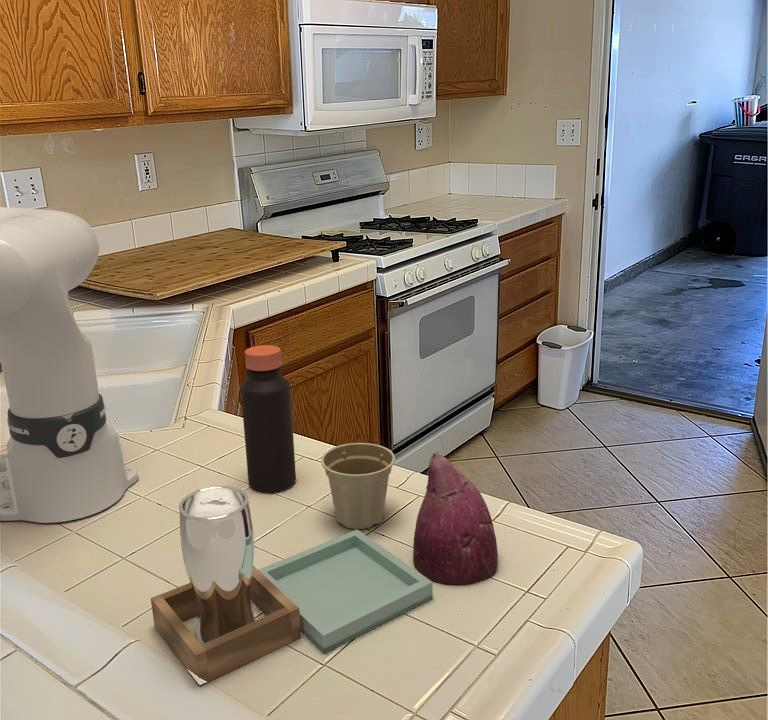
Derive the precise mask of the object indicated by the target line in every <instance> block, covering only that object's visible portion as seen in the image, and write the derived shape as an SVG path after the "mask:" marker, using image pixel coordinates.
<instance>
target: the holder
mask: <svg viewBox="0 0 768 720" xmlns="http://www.w3.org/2000/svg"><path fill="white" fill-rule="evenodd" d="M250 601H251V602H252V603H254V605H256V606H257V608H258V609H259V610H260V611H261V612H262V613H263V614H265V616H263V617H261V618H258V619H255V621H254V622H251V623H249V624H247V625H245V626H243V627H240V628H238V629H236V630H234V631H232V632H229V633H227V634H225V635H223V636H220V637H218V638H216V639H214V640H212V641H209V642H207V643H205V644H203V645H201V644H200V643H199V641H198V640H197V638H196V636H195V635H194V634H193V633H192V632H191V630H190V629H189V628H188V626H187V625H186V624H185V623H184V621H187V620H189V619H192V618H194V617H198V609H197V603H196V599H195V596H194V592H193V589H192V586H191V584H190V582H187V583H186V584H184V585H181V586H179V587H176V588H173V589H170V590H169V591H165V592H162V593H160V594H158V595H155V596H153V597H150V604H151V610H152V617H153V626H154V628H155V630H156V631H157V632H158V633H159V635H160V636H161V638H162V639H163V640H164V642H165V643H166V644H167V645H168V647H169V648H170V649H171V651H172V652H173V653H174V655H175V656H176V658H177V659H178V661H179V662H180V663H181V664H182V665H183V667H184V668H185V667H186V668H187V669H188V670H190V671H191V672H193V673H194V674H195V675H197V676H198V677H199V678H201V679H203V680H205V681H207V682H208V683H210V682H212V681H215V680H217V679H218V678H220V677H222V676H225V675H227V674H229V673H231V672H233V671H235V670H237V669H239V668H241V667H243V666H245V665H247V664H250V663H251V662H254V661H256V660H257V659H260V658H262V657H264V656H266V655H268V654H270V653H272V652H275V651H276V650H278V649H280V648H283V647H284V646H286V645H289V644H291V643H294V642H295V641H297V640H299V639H301V638H302V632H301V627H300V611H299V607H298V606H296V605H295V604H294V603H293V602H292V601H291V600H290V599H289V598H288V597H287V596H286V595H285V594H283V593H282V592H281V591H280V590H279V589H278V588H277V587H276V586H275V585H274V584H273V583H272V582H271V581H269V580H268V579H267V578H266V577H265V576H264V575H263V574H262V573H261V572H260V571H259V569H257V568H256V567H255V566H254V565H253V570H252V579H251V588H250ZM186 668H185V669H186ZM187 669H186V670H187Z"/></svg>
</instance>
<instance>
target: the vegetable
mask: <svg viewBox="0 0 768 720" xmlns="http://www.w3.org/2000/svg"><path fill="white" fill-rule="evenodd" d="M428 463H429V464H428V468H427V469H428V473H427V478H428V479H427V484H426V488H425V489H426V490H425V491H426V492H425V494H424V496H423V497H424V498H423V500H422V502H421V505H420V508H419V510H418V514H417V517H416V521H415V529H414V535H413V544H412V545H413V550H412V551H413V554H412V556H413V557H412V563H413V566H414V569H415V570H416V571H417V572H419V573H420V574H422V575H423V576H425V577H426V578H427V579H429V580H430V581H432V582H435V583H440V584H444V585H456V586H457V585H461V586H463V585H464V586H465V585H469V584H470V585H471V584H475V583H479V582H481V581H485V580H487V579H490V578H492V577H493V576H494V575H495V574H496V573H497V572H498V571H497V570H498V559H499V557H498V556H499V555H498V553H499V552H498V544H497V538H496V537H497V536H496V534H495V532H496V531H495V528H494V522H493V519H492V516H491V512H490V511H489V508H488V505H487V503H486V501H485V499H484V497H483V495H482V494H481V492H480V490H479V489H478V487H476V484H475V483H474V482H472V481H471V479H469V478H468V477H467V476H466V475H465V474H463V473H462V472H461V471H460V470H459V469H458V468H457V467H456V466H454V464H453V463H452V462H451V461H450V460H449V459H447V458H446V457H445V456H443V455H441V454H440V452H438V450H434V451H433V453H432V456H431V458H430V460H429V462H428Z"/></svg>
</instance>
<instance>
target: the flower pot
mask: <svg viewBox="0 0 768 720" xmlns="http://www.w3.org/2000/svg"><path fill="white" fill-rule="evenodd" d="M395 462H396V455H395V454H394V452H393V451H392V450H391V449H389V448H387V447H385V446H383V445H380V444H376V443H375V444H374V443H368V442H355V443H354V442H351V443H344V444H340V445H337V446H334V447H332V448H330V449H328V450H327V451H325V452H324V453H323V455H322V456H321V459H320V463H321V466H322V468H323V469H324V471H325V474H326V477H328V483H329V488H330V493H331V498H332V502H333V507H334V514H335V518H336V519H335V520H336V522H338V523H339V524H341V525H343V526H344V527H345V528H347V529H352V530H364V529H366V530H367V529H371V527H372V526H374V525H376V524H378V523H379V524H380V523H381V522H382V521H383V519H384V516H385V515H384V513H385V508H386V507H385V506H386V505H385V504H386V499H387V491H388V483H389V476H390V475H391V473H392V467H393V466H394V465H395ZM379 524H378V525H379Z"/></svg>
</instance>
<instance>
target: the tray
mask: <svg viewBox="0 0 768 720" xmlns="http://www.w3.org/2000/svg"><path fill="white" fill-rule="evenodd" d="M258 570H259V571H260V572H261V573H262V574H263V575H264V576H265V577H266V578H267V579H268V580H269V581H271V582H272V583H273V584H274V585H275V586H276V587H277V588H278V589H279V590H280V591H281V592H282V593H283V594H285V595H286V596H287V597H288V598H289V599H290V600H291V601H292V602H293V603H294V604H295V605H296V606H298V607H299V611H300V627H301V634H303V635H304V636H305V637H307V638H308V640H310V641H311V643H312V644H314V645H315V647H317V648H318V649H319V650H320V652H322V653H323V655H324V654H327V653H329V652H331V651H333V650H334V649H336V648H337V649H338V648H339V647H341V646H342V645H344V644H347V643H349V642H350V641H352V640H355V639H356V638H358V637H360V636H362V635H364V634H366V633H368V632H370V631H372V630H375V629H376V628H378V627H380V626H382V625H384V624H385V623H388V622H390V621H392V620H394V619H396V618H397V617H399V616H402V615H403V614H406V613H407V612H409V611H411V610H413V609H415V608H417V607H420V606H421V605H424V604H425V603H427V602H429V601H431V600H433V599H434V598H433V594H434V593H433V590H434V589H433V588H434V587H433V585H434V583H433V582H434V581H432V580H430V579H429V578H427V577H426V576H424V575H423V574H422V573H421V572H419V571H418V570H417V569H415V568H413V567H412V566H410V565H409V564H408V563H405V561H403V560H402V559H400V558H398V557H397V556H396V555H395V554H393V553H391V552H390V551H388V550H387V549H386V548H385V547H383V546H382V545H380V544H378V543H377V542H375V541H374V540H373V539H371V538H370V537H368V536H367V535H366V534H364V533H363V532H362V531H360V530H359V529H353V530H352V531H350V532H347V533H345V534H343V535H340V536H338V537H335V538H333V539H330V540H328V541H325V542H323V543H321V544H318V545H316V546H313V547H311V548H308V549H306V550H302V551H301V552H298V553H296V554H293V555H291V556H289V557H286V558H283V559H281V560H278V561H276V562H274V563H272V564H269V565H266V566H264V567H261V568H259V569H258Z"/></svg>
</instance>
